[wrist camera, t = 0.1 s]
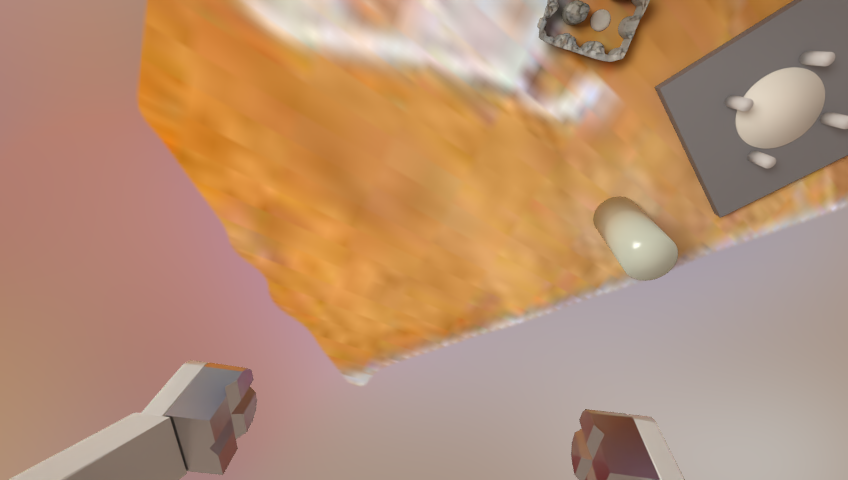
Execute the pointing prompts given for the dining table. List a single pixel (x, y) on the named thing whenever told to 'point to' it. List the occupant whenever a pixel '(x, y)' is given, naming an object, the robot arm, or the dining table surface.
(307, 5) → the dining table surface
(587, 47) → the egg carton
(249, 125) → the dining table surface
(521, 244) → the dining table surface
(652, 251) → the canister
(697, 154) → the peg stand
